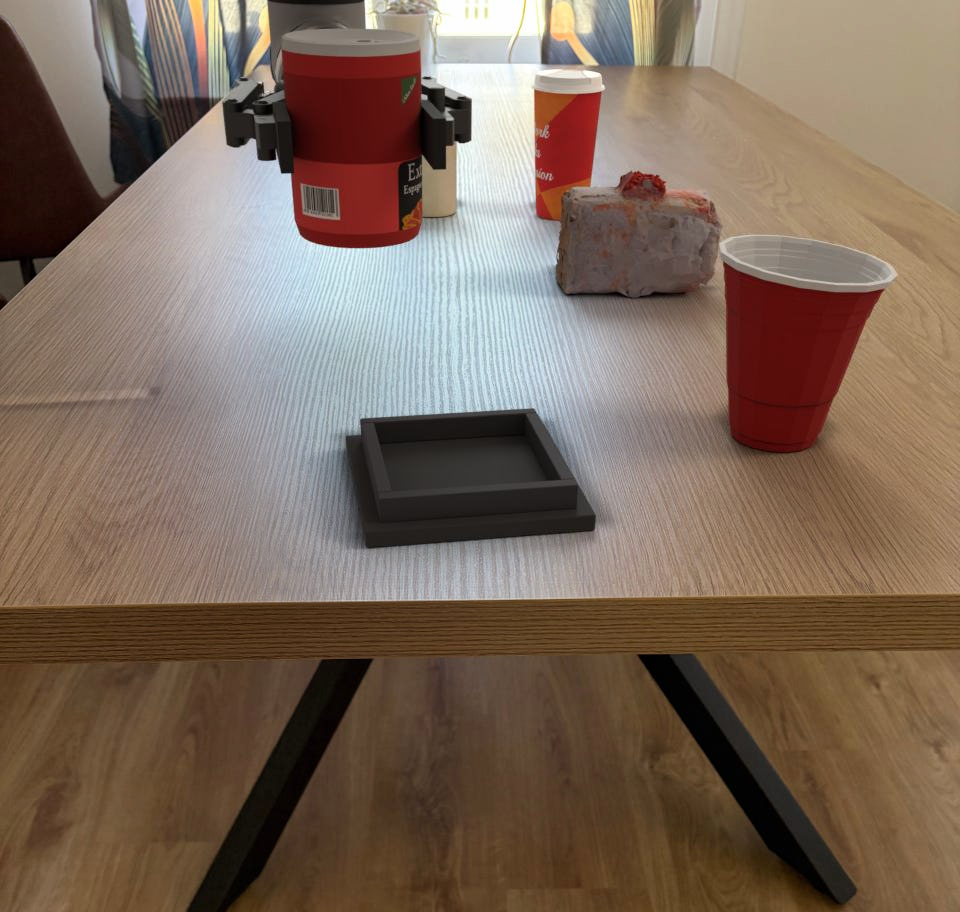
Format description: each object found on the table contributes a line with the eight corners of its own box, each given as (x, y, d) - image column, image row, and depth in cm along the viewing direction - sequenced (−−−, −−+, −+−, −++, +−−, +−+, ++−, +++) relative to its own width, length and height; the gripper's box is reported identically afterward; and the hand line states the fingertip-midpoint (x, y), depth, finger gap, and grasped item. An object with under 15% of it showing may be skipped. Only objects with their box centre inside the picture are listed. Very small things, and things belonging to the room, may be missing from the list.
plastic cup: (885, 468, 71) (931, 276, 64) (717, 472, 70) (745, 278, 63) (827, 402, 80) (862, 228, 73) (678, 404, 79) (699, 229, 72)
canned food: (431, 248, 68) (429, 43, 62) (297, 252, 66) (282, 43, 60) (414, 216, 74) (411, 27, 68) (292, 220, 73) (278, 28, 67)
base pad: (366, 548, 61) (364, 507, 60) (346, 449, 72) (344, 413, 71) (595, 530, 63) (598, 490, 62) (543, 437, 74) (545, 401, 73)
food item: (695, 274, 105) (708, 162, 100) (717, 300, 99) (733, 182, 93) (551, 275, 104) (557, 162, 99) (564, 302, 98) (571, 182, 92)
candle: (437, 220, 121) (437, 119, 115) (396, 212, 123) (394, 113, 117) (466, 210, 124) (466, 112, 119) (425, 203, 127) (424, 106, 121)
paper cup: (532, 203, 127) (538, 66, 119) (599, 208, 126) (609, 70, 118) (520, 220, 121) (525, 77, 113) (591, 225, 120) (601, 80, 112)
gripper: (470, 137, 85) (540, 209, 67) (190, 143, 82) (183, 221, 63) (471, 25, 81) (546, 69, 63) (176, 26, 78) (163, 73, 59)
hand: (363, 145), depth 63 cm, fingers closed on canned food, 8 cm apart
